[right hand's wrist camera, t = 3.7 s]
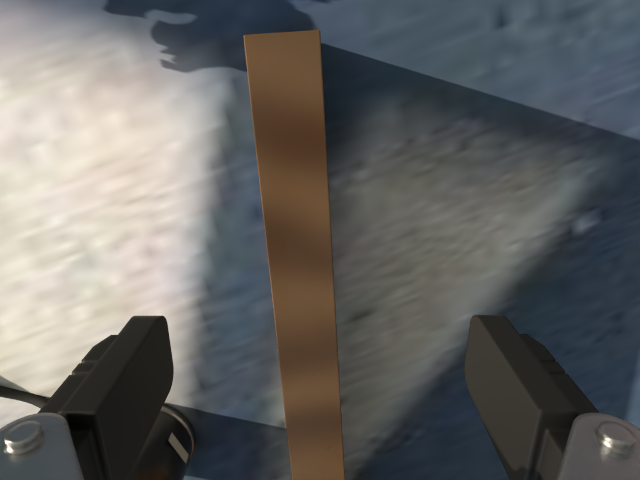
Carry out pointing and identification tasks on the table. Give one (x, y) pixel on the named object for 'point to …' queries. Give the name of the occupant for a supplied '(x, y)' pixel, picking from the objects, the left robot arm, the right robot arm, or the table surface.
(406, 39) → the table surface
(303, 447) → the post
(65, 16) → the table surface
